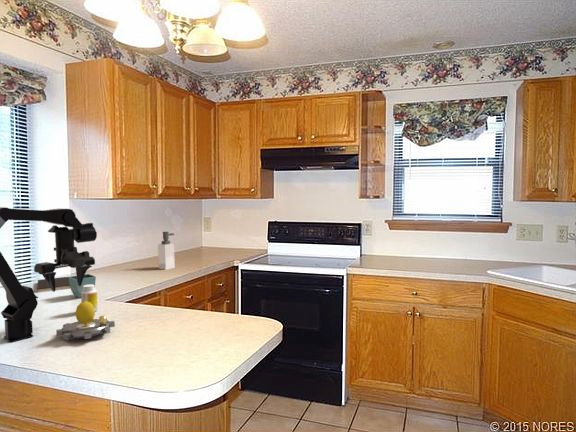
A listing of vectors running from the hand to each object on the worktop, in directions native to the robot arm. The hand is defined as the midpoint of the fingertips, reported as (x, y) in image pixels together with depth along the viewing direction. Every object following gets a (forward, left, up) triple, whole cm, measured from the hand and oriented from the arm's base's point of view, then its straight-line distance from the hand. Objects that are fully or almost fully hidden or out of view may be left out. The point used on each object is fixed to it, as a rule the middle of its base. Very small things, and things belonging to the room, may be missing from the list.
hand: (67, 288), depth 143 cm
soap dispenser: (+80, +63, -13) cm, 103 cm away
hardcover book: (+20, +68, -13) cm, 72 cm away
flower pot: (+19, +35, -13) cm, 42 cm away
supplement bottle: (+11, +9, -13) cm, 19 cm away
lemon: (-1, -17, -9) cm, 19 cm away
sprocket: (-1, -17, -11) cm, 20 cm away
